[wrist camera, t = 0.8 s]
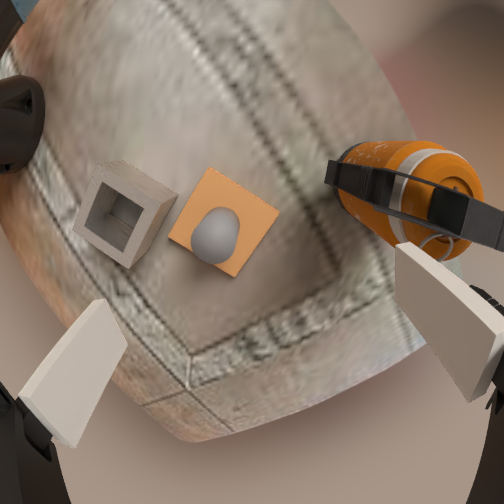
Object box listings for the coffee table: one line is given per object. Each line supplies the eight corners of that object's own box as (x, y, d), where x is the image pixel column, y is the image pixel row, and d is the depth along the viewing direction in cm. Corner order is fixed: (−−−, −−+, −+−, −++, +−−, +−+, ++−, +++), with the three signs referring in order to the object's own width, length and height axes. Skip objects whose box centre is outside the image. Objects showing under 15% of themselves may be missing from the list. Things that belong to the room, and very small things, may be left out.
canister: (391, 225, 31) (502, 305, 13) (306, 207, 31) (374, 291, 12) (407, 154, 28) (539, 175, 10) (321, 128, 28) (417, 100, 9)
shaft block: (170, 233, 32) (148, 255, 25) (210, 166, 30) (195, 171, 23) (235, 273, 34) (229, 305, 27) (278, 211, 31) (284, 229, 24)
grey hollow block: (98, 216, 32) (72, 230, 26) (123, 160, 29) (98, 163, 24) (148, 250, 33) (128, 269, 28) (178, 194, 31) (161, 203, 25)
